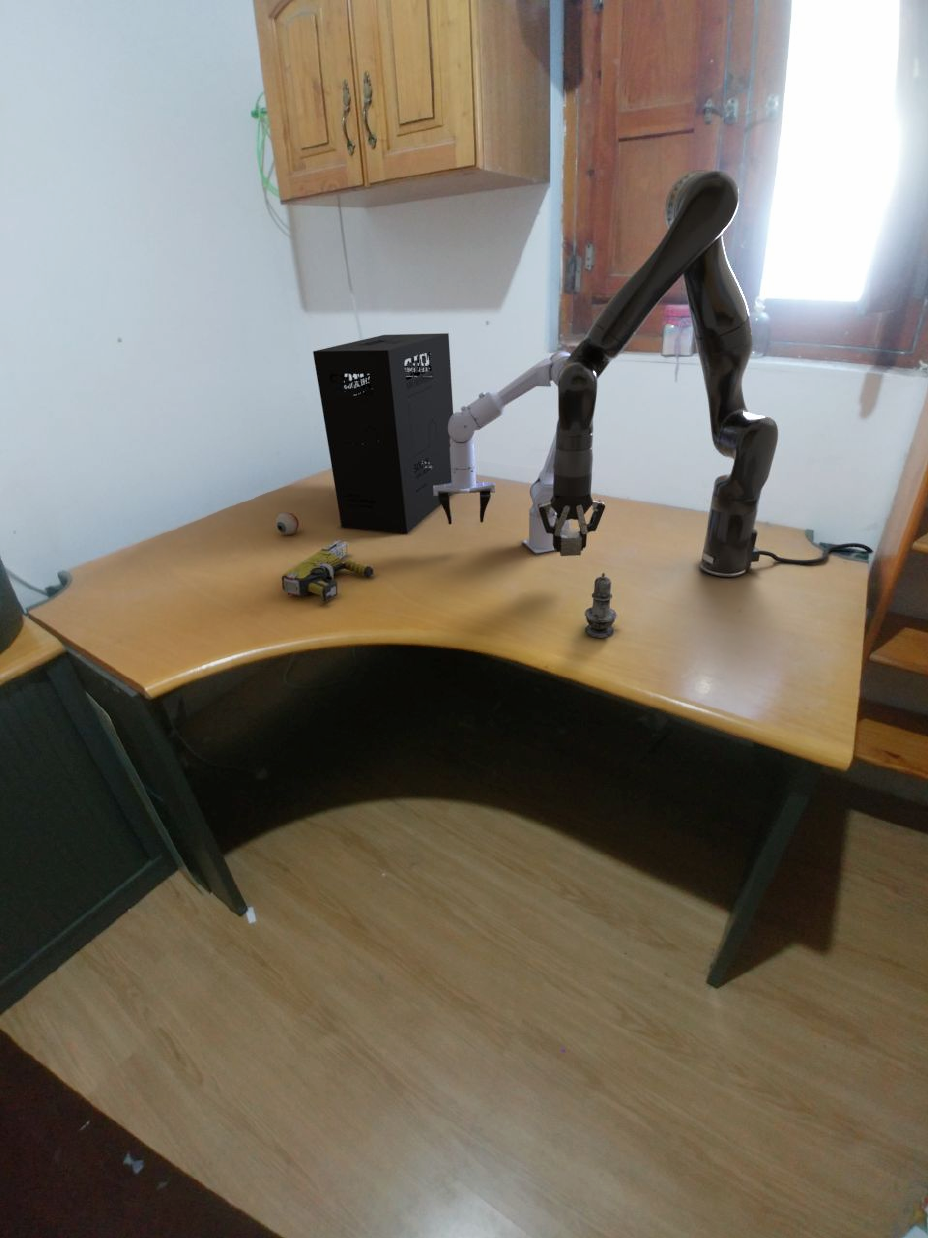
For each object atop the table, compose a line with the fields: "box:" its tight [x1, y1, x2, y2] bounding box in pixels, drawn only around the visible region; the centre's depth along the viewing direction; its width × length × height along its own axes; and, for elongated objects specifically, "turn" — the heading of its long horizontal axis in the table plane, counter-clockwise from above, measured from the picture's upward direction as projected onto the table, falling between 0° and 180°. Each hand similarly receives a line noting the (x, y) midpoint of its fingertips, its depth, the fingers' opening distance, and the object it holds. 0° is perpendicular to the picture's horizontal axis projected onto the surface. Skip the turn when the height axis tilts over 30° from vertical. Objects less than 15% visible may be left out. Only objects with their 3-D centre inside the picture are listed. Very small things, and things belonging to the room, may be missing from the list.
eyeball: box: [275, 511, 300, 536], centre depth 163 cm, size 6×6×6 cm
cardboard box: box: [312, 332, 454, 534], centre depth 168 cm, size 38×20×45 cm, turn 159°
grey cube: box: [558, 529, 582, 557], centre depth 126 cm, size 4×4×4 cm
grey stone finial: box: [583, 572, 618, 639], centre depth 111 cm, size 6×6×12 cm
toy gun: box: [281, 539, 374, 603], centre depth 138 cm, size 5×24×15 cm
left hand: (465, 521), depth 147 cm, fingers open, 7 cm apart
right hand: (569, 549), depth 127 cm, fingers closed on grey cube, 4 cm apart
